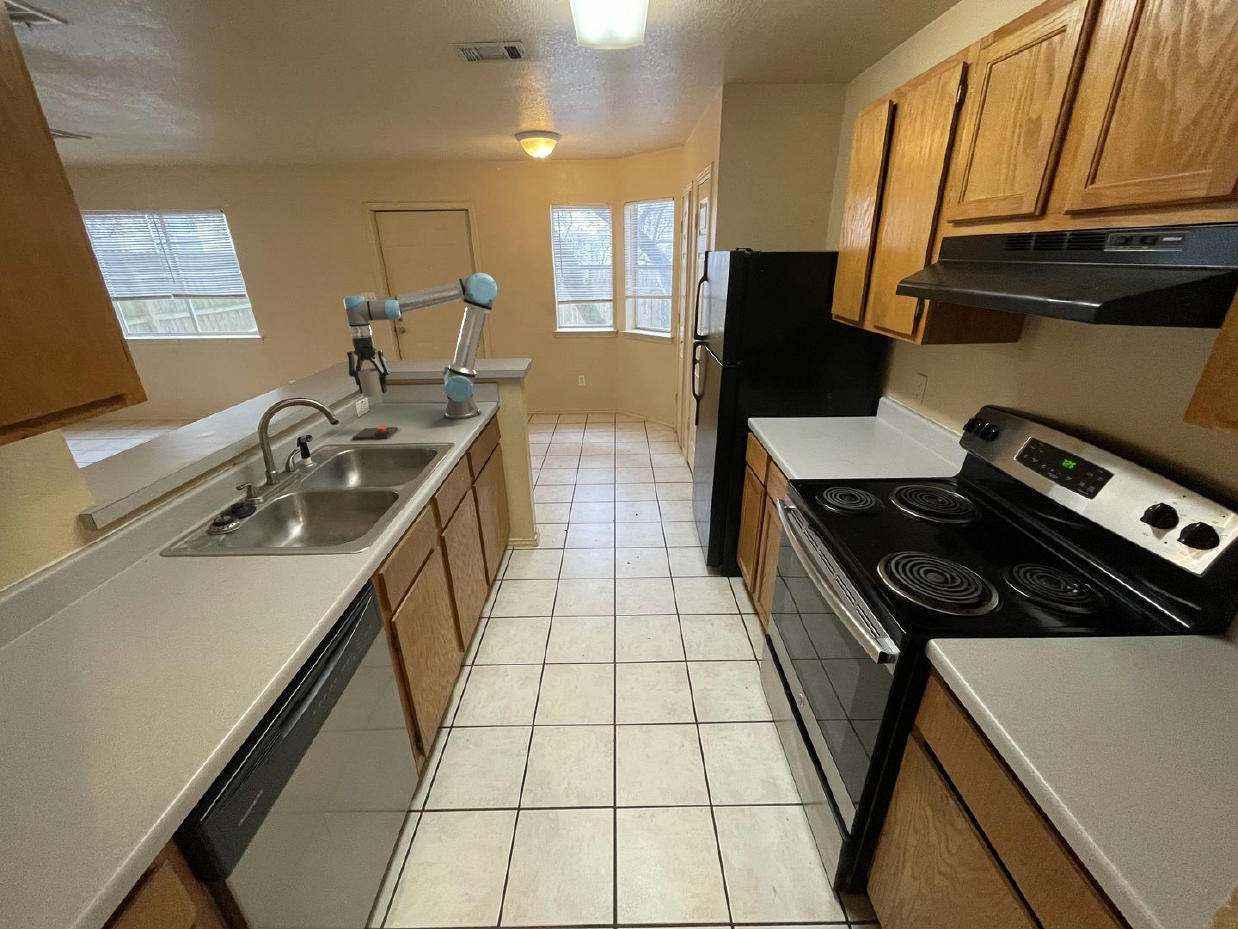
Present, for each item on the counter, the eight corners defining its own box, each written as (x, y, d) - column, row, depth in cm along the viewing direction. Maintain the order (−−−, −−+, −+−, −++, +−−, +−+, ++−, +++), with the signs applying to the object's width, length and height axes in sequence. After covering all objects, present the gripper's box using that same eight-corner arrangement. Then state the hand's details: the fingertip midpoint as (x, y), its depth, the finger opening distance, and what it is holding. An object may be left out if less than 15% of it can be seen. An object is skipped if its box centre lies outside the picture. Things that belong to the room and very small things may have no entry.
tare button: (387, 430, 211) (386, 426, 210) (384, 432, 208) (383, 428, 207) (380, 430, 210) (379, 426, 210) (377, 432, 208) (376, 429, 207)
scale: (399, 429, 219) (397, 423, 218) (388, 439, 207) (386, 432, 206) (365, 431, 219) (364, 424, 218) (352, 440, 207) (350, 433, 206)
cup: (358, 396, 208) (353, 371, 204) (373, 391, 215) (368, 367, 211) (375, 397, 206) (370, 372, 202) (389, 392, 213) (384, 368, 209)
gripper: (330, 338, 198) (343, 395, 206) (384, 337, 198) (396, 393, 207) (339, 336, 205) (352, 390, 213) (392, 334, 205) (402, 389, 214)
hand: (373, 392), depth 210 cm, fingers closed on cup, 8 cm apart
